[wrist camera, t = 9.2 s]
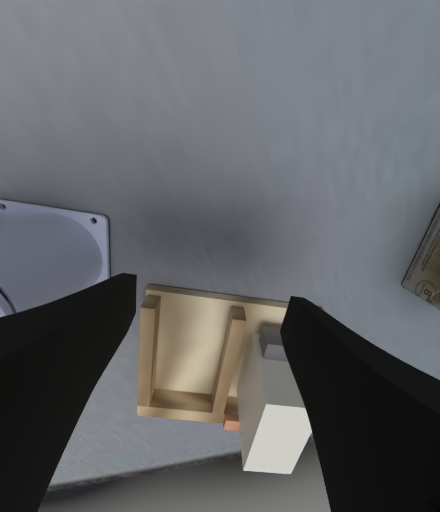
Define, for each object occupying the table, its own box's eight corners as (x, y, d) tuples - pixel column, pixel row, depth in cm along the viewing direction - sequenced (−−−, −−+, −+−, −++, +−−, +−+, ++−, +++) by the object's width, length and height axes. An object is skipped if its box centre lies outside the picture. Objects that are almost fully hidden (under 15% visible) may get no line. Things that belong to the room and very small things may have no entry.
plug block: (236, 389, 24) (243, 470, 17) (254, 319, 20) (271, 387, 14) (271, 392, 24) (290, 474, 18) (294, 324, 21) (330, 393, 14)
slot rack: (144, 388, 25) (132, 421, 22) (149, 284, 20) (135, 306, 17) (284, 402, 26) (293, 436, 23) (321, 307, 21) (341, 332, 18)
